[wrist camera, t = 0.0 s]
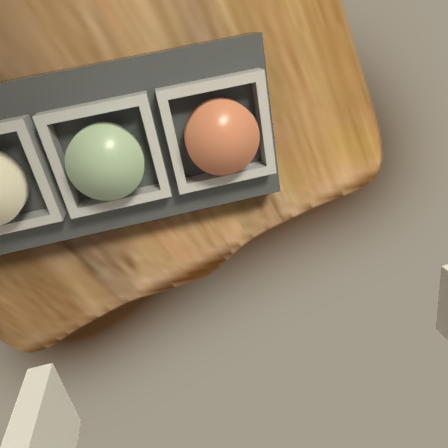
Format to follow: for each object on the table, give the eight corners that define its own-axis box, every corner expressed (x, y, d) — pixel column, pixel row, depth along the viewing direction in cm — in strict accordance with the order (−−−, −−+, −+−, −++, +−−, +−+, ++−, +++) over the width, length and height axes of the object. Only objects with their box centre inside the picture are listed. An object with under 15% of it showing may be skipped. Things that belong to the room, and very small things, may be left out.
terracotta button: (176, 105, 33) (178, 109, 31) (249, 90, 33) (254, 93, 31) (192, 175, 35) (194, 182, 34) (258, 160, 36) (264, 166, 34)
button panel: (-90, 99, 33) (-125, 109, 29) (253, 32, 36) (267, 32, 31) (-16, 245, 40) (-36, 271, 35) (271, 181, 42) (285, 198, 38)
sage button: (57, 130, 32) (53, 135, 30) (133, 114, 32) (132, 119, 31) (82, 199, 35) (79, 208, 33) (152, 184, 35) (152, 191, 33)
